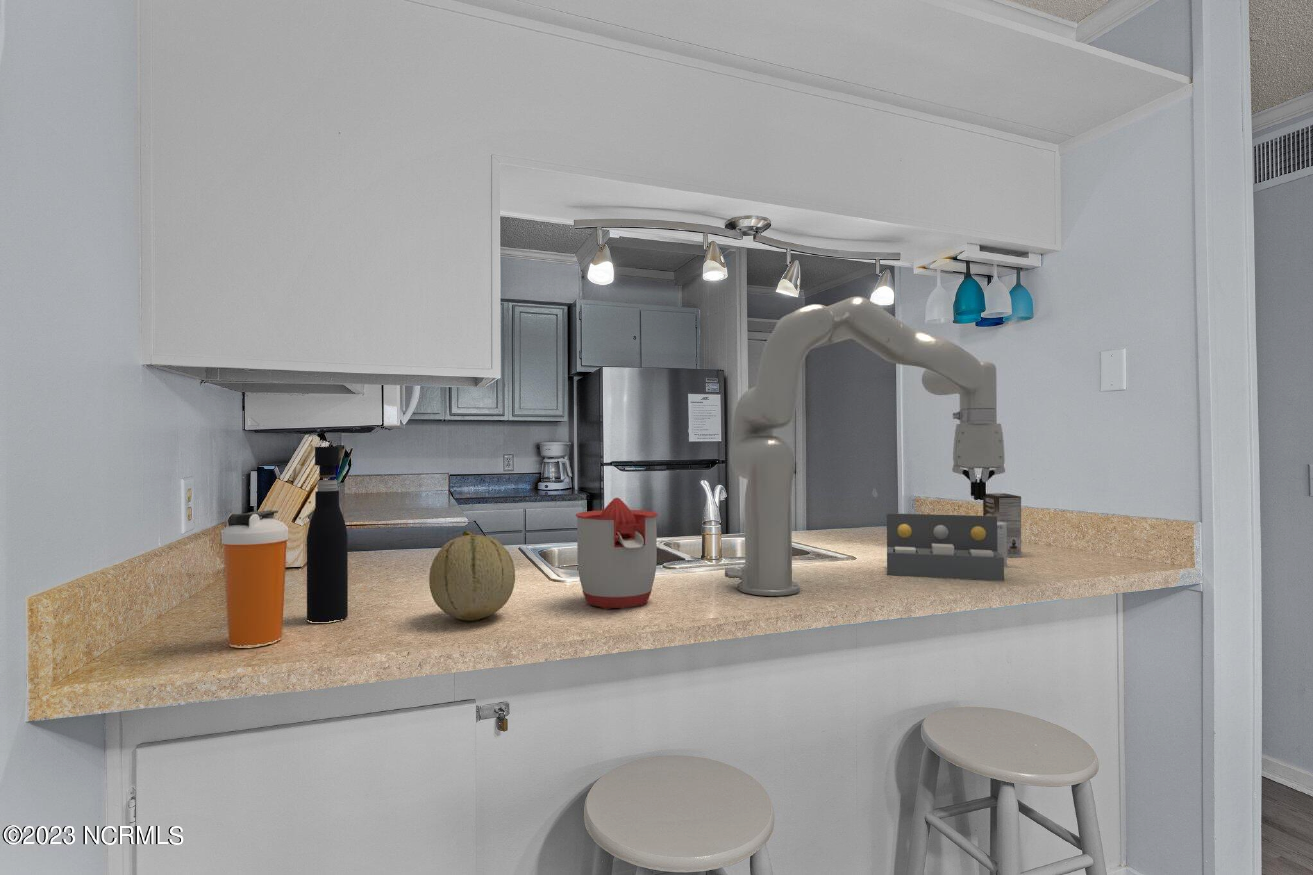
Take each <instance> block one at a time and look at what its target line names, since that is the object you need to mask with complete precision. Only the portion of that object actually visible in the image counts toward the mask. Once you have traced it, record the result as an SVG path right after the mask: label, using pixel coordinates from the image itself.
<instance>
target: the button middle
mask: <svg viewBox="0 0 1313 875" xmlns="http://www.w3.org/2000/svg"><path fill="white" fill-rule="evenodd" d="M932 554H941V555H954V546H953V545H952V544H932Z"/></svg>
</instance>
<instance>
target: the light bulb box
mask: <svg viewBox="0 0 1313 875" xmlns="http://www.w3.org/2000/svg"><path fill="white" fill-rule="evenodd" d="M997 550H998V552H999V553H1000V554H1001V555H1002V556H1003V557H1004V569H1007V567H1008V562H1007V561H1008V557H1007V523H1003V522H997Z"/></svg>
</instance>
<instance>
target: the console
mask: <svg viewBox="0 0 1313 875" xmlns="http://www.w3.org/2000/svg"><path fill="white" fill-rule="evenodd" d="M932 544H952V545H953V546H954V555H941V554H932ZM895 547H915V549H916V553H895ZM970 549H971V550H991V551H992V552H993V553H994V557H988V556H970ZM886 575H887V576H904V577H921V578H922V577H923V578H924V577H925V578H938V579H939V578H941V579H942V578H943V579H958V580H959V579H960V580H978V581H996V582H997V581H998V582H1005V568H1004V557H1003V556H1002V555H1001V554H1000V553H999V552H998V550H997V516H983V515H974V514H973V515H972V514H971V515H969V514H968V515H967V514H965V515H964V514H963V515H962V514H934V513H933V514H930V513H929V514H928V513H927V514H926V513H925V514H924V513H898V512H897V513H895V512H894V513H892V512H891V513H889V512H887V513H886Z"/></svg>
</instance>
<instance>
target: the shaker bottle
mask: <svg viewBox="0 0 1313 875" xmlns="http://www.w3.org/2000/svg"><path fill="white" fill-rule="evenodd" d="M276 513H279V510H272V509H271V510H268V509H267V510H257V511H251V512H247V513H231V514H229V516H228V517H227V519H226V522H227V523H226V527H225V528H224V529H222V531H221V545H222V546H223V557H224V558H223V560H224V577H225V578H224V580H225V593H226V594H225V596H226V597H225V598H226V613H227V614H226V616H227V632H228V633H227V634H228V635H227V636H228V645H229V644H231V645H237V646H240V645H241V646H244V645H257V644H265V643H268V642H273V641H275V640H278V639H279V638H281V637H282V638H283V628H284V627H283V624H284V622H283V621H284V604H285V603H284V601H285V588H286V587H285V586H286V585H285V584H286V566H287V565H286V563H287V542H288V541H289V540H290V539H289V527H288V526H287V525H286V524H285V523H284V522H283V521H281V520H278V519H274V518H275V514H276Z"/></svg>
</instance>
